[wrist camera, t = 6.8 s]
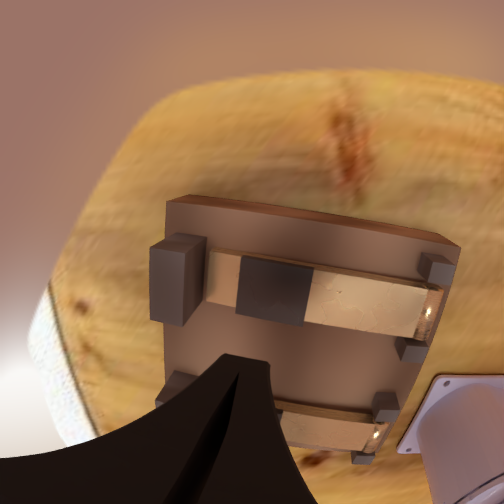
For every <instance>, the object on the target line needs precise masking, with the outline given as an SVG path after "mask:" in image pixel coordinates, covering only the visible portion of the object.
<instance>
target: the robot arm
mask: <svg viewBox="0 0 504 504" xmlns="http://www.w3.org/2000/svg"><path fill="white" fill-rule="evenodd" d="M270 366H271V365H270V364H269V363H268V362H267V361H262V360H257V359H252V358H246V357H241V356H236V355H232V354H227V353H224V354H222V355H221V356H220V357H219V358H218V359H217V360H216V361H215V362H214V363H213V364H212V365H211V366H210V367H209V368H207V369H206V370H205V371H204V372H203V373H202V374H201V375H200V376H199V377H197V378H196V379H195V380H194V381H193V382H191V383H190V384H189V385H188V386H186V387H185V388H184V389H183V390H181V391H180V392H179V393H177V394H176V395H175V396H173V397H172V398H170V399H169V400H167V401H166V402H165V403H163V404H162V405H160V406H159V407H157V408H156V409H154V410H152V411H151V412H149V413H147V414H146V415H144V416H142V417H141V418H139V419H137V420H135V421H133V422H131V423H129V424H127V425H125V426H123V427H121V428H119V429H117V430H114V431H112V432H110V433H108V434H105V435H103V436H100V437H98V438H95V439H93V440H90V441H87V442H84V443H80V444H77V445H74V446H70V447H66V448H63V449H59V450H56V451H51V452H47V453H41V454H35V455H28V456H20V457H11V458H0V504H318V503H317V502H316V500H315V499H314V497H313V495H312V494H311V492H310V491H309V489H308V487H307V485H306V483H305V482H304V480H303V478H302V476H301V474H300V472H299V470H298V468H297V466H296V463H295V461H294V459H293V457H292V455H291V452H290V450H289V447H288V445H287V442H286V439H285V437H284V434H283V431H282V428H281V425H280V422H279V418H278V415H277V411H276V407H275V403H274V398H273V394H272V387H271V380H270ZM446 381H447V382H446ZM444 382H446V383H444ZM397 452H398V453H400V454H408V453H421V456H422V460H423V464H424V467H425V471H426V475H427V479H428V483H429V488H430V492H431V496H432V501H433V504H504V375H439V376H437V377H436V378H435V379H434V380H433V382H432V384H431V387H430V389H429V391H428V393H427V395H426V397H425V399H424V401H423V402H422V404H421V406H420V408H419V410H418V412H417V414H416V416H415V417H414V419H413V421H412V423H411V425H410V426H409V428H408V430H407V432H406V433H405V435H404V437H403V438H402V440H401V442H400V443H399V445H398V447H397Z"/></svg>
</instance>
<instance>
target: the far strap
mask: <svg viewBox="0 0 504 504" xmlns="http://www.w3.org/2000/svg"><path fill="white" fill-rule="evenodd" d="M274 403H275V407H276V411H277V415H278V418H279V422H280V425H281V428H282V431H283V434H284V437H285V439H286V441H291V442H297V443H303V444H309V445H316V446H323V447H330V448H338V449H347V450H357V451H362V452H364V453H372V452H374V451H375V449H376V448H377V446H378V444H379V442H380V441H381V439H382V437H383V435H384V433H385V432H386V430H387V428H388V426H389V424H390V422H377V421H374V416H373V415H372V414H363V413H354V412H346V411H339V410H332V409H325V408H319V407H312V406H307V405H301V404H295V403H290V402H285V401H280V400H275V399H274Z"/></svg>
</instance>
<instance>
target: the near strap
mask: <svg viewBox="0 0 504 504" xmlns="http://www.w3.org/2000/svg"><path fill="white" fill-rule="evenodd" d="M443 293H444V289H443V288H442V287H440V286H438V285H435V284H432V283H421V282H416V281H410V280H404V279H398V278H393V277H387V276H381V275H375V274H370V273H364V272H358V271H353V270H347V269H341V268H335V267H330V266H324V265H318V264H313V263H307V262H301V261H295V260H290V259H284V258H278V257H273V256H267V255H261V254H255V253H250V252H244V251H238V250H233V249H227V248H221V247H214V248H213V249H212V250H210V254H209V267H208V281H207V296H206V301H209V302H213V303H218V304H222V305H227V306H231V307H236V309H235V314H239V315H244V316H249V317H254V318H258V319H263V320H268V321H273V322H278V323H284V324H289V325H294V326H300V327H303V323H304V321H307V322H313V323H319V324H324V325H330V326H336V327H342V328H348V329H354V330H361V331H367V332H374V333H380V334H387V335H394V336H401V337H409V338H413V339H416V340H420V341H425V340H427V339H428V337H429V334H430V332H431V329H432V326H433V323H434V320H435V317H436V314H437V311H438V308H439V305H440V302H441V299H442V296H443Z"/></svg>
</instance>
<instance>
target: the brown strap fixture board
mask: <svg viewBox="0 0 504 504" xmlns="http://www.w3.org/2000/svg"><path fill="white" fill-rule="evenodd" d="M214 247H221V248H227V249H233V250H238V251H244V252H250V253H255V254H261V255H267V256H273V257H278V258H284V259H290V260H295V261H301V262H307V263H313V264H318V265H324V266H330V267H335V268H341V269H347V270H353V271H358V272H364V273H370V274H375V275H381V276H387V277H393V278H398V279H404V280H410V281H416V282H421V283H432V284H435V285H438V286H440V287H442V288H443V289H444V293H443V296H442V299H441V302H440V305H439V308H438V311H437V314H436V317H435V320H434V323H433V326H432V329H431V332H430V334H429V337H428V339H427V340H425V341H420V340H416V339H413V338H409V337H401V336H394V335H387V334H380V333H374V332H367V331H361V330H354V329H348V328H342V327H336V326H330V325H324V324H319V323H313V322H307V321H304V323H303V327H300V326H294V325H289V324H284V323H278V322H273V321H268V320H263V319H258V318H254V317H249V316H244V315H239V314H235V309H236V307H231V306H227V305H222V304H218V303H213V302H209V301H206V296H207V281H208V267H209V254H210V250H212V249H213V248H214ZM460 251H461V247H459V246H458V245H456V244H455V243H453V242H451V241H450V240H448V239H446V238H445V237H443V236H441V235H440V234H437V233H432V232H427V231H422V230H417V229H412V228H407V227H402V226H396V225H391V224H385V223H380V222H374V221H369V220H363V219H357V218H352V217H346V216H340V215H334V214H328V213H321V212H315V211H309V210H302V209H295V208H289V207H282V206H275V205H268V204H260V203H253V202H246V201H238V200H230V199H222V198H214V197H205V196H197V195H186V196H183V197H179V198H176V199H172V200H169V201H167V203H166V221H165V239H164V240H162V241H160V242H158V243H157V244H155V245H153V246H151V247H150V261H149V293H150V320H154V321H158V322H162V323H163V326H164V364H165V385H164V387H163V389H162V390H161V392H160V393H159V395H158V396H157V398H156V400H155V405H156V408H157V407H159V406H160V405H162V404H163V403H165V402H166V401H167V400H169V399H170V398H172V397H173V396H175V395H176V394H177V393H179V392H180V391H181V390H183V389H184V388H185V387H186V386H188V385H189V384H190V383H191V382H193V381H194V380H195V379H196V378H197V377H199V376H200V375H201V374H202V373H203V372H204V371H205V370H206V369H207V368H209V367H210V366H211V365H212V364H213V363H214V362H215V361H216V360H217V359H218V358H219V357H220V356H221V355H222V354H224V353H227V354H232V355H236V356H241V357H246V358H252V359H257V360H262V361H267V362H268V363H269V364H270V365H271V366H270V380H271V387H272V394H273V398H274V399H275V400H280V401H285V402H290V403H295V404H301V405H307V406H312V407H319V408H325V409H332V410H339V411H346V412H354V413H363V414H372V415H373V416H374V421H377V422H390V424H389V426H388V428H387V430H386V432H385V433H384V435H383V437H382V439H381V441H380V442H379V444H378V446H377V448H376V449H375V451H374V452H372V453H364V452H362V451H357V450H347V449H338V448H330V447H323V446H316V445H309V444H303V443H297V442H291V441H286V442H287V445H288V446H292V447H299V448H308V449H318V450H329V451H342V452H351V459H352V464H363V465H370V464H371V463H372V461H373V459H374V458H375V453H378V452H379V450H380V448H381V447H382V445H383V443H384V441H385V440H386V438H387V436H388V434H389V433H390V431H391V429H392V427H393V425H394V423H395V422H396V420H397V418H398V416H399V414H400V412H401V410H402V408H403V406H404V404H405V402H406V400H407V398H408V396H409V394H410V392H411V389H412V387H413V385H414V383H415V381H416V379H417V376H418V374H419V372H420V369H421V367H422V365H423V362H424V360H425V358H426V355H427V353H428V350H429V348H430V345H431V343H432V340H433V337H434V335H435V332H436V329H437V327H438V324H439V321H440V318H441V315H442V312H443V309H444V306H445V303H446V300H447V297H448V294H449V291H450V287H451V284H452V281H453V277H454V274H455V270H456V266H457V263H458V259H459V255H460Z"/></svg>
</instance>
